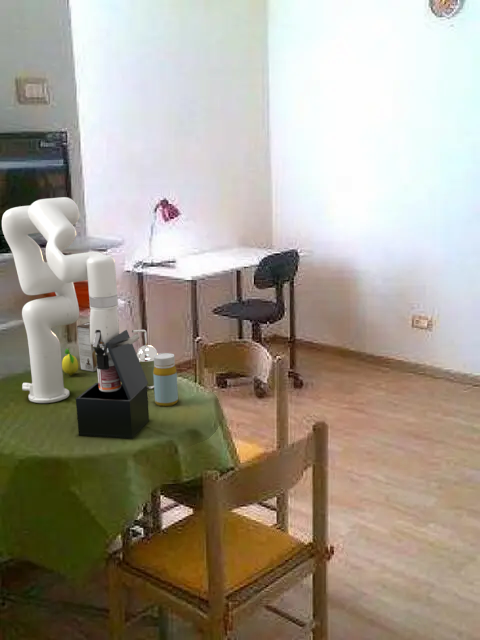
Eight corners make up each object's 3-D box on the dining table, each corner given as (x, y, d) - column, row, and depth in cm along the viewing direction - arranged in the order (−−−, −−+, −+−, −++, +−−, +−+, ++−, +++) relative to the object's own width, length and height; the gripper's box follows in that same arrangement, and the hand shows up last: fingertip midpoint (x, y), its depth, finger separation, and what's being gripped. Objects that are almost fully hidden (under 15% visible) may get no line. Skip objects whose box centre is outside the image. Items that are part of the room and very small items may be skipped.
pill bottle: (125, 388, 215) (123, 349, 213) (107, 394, 211) (104, 354, 209) (112, 384, 220) (110, 345, 217) (94, 389, 216) (91, 350, 213)
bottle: (174, 407, 233) (171, 359, 229) (152, 406, 234) (149, 358, 231) (180, 399, 240) (178, 352, 236) (159, 398, 241) (156, 352, 237)
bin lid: (105, 343, 205) (123, 337, 203) (124, 330, 218) (141, 324, 216) (128, 400, 207) (146, 394, 206) (145, 384, 220) (163, 378, 219)
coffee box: (97, 362, 281) (94, 319, 277) (111, 365, 278) (108, 321, 274) (80, 369, 274) (76, 325, 270) (93, 372, 270) (90, 327, 266)
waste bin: (78, 435, 213) (75, 398, 211) (98, 418, 226) (95, 382, 224) (132, 439, 210) (129, 401, 207) (149, 420, 223) (147, 385, 220)
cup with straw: (164, 388, 250) (161, 328, 246) (137, 392, 247) (133, 331, 243) (158, 381, 258) (154, 322, 253) (131, 384, 255) (127, 325, 250)
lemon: (66, 372, 271) (64, 344, 269) (82, 372, 270) (80, 345, 268) (58, 378, 265) (56, 349, 262) (74, 378, 264) (72, 350, 261)
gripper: (103, 294, 219) (107, 356, 223) (77, 308, 202) (82, 374, 207) (128, 295, 217) (132, 357, 221) (104, 309, 201) (108, 375, 205)
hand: (108, 364), depth 214 cm, fingers closed on pill bottle, 6 cm apart
